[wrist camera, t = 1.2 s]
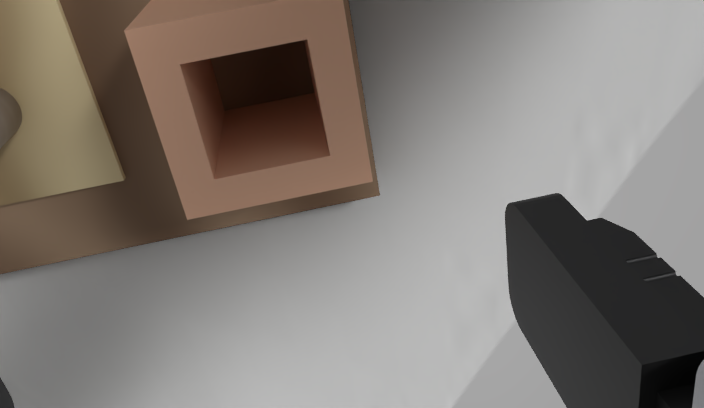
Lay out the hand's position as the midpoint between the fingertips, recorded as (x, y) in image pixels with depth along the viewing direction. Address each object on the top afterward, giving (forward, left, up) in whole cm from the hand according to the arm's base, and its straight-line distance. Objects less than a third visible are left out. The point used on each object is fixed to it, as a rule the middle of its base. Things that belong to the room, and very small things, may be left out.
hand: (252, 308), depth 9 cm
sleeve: (0, 0, -15) cm, 15 cm away
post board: (+5, 0, -17) cm, 17 cm away
